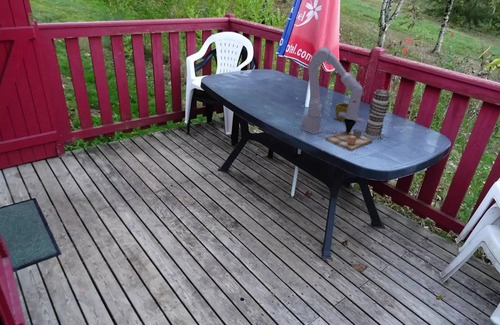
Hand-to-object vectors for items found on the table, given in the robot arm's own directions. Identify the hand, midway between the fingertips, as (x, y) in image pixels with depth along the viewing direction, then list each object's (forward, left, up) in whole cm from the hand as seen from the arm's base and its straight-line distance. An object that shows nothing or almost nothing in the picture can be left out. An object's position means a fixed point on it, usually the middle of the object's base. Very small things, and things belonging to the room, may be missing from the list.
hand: (348, 132), depth 192 cm
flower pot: (-17, +20, -3) cm, 26 cm away
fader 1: (+9, -10, 0) cm, 13 cm away
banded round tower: (+7, +14, -3) cm, 16 cm away
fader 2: (+5, 0, 0) cm, 5 cm away
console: (+4, -5, -2) cm, 7 cm away
